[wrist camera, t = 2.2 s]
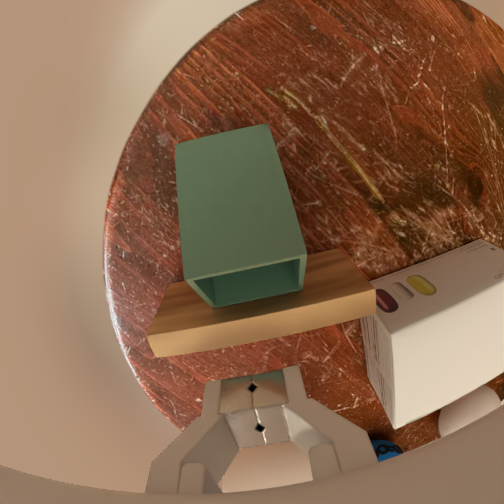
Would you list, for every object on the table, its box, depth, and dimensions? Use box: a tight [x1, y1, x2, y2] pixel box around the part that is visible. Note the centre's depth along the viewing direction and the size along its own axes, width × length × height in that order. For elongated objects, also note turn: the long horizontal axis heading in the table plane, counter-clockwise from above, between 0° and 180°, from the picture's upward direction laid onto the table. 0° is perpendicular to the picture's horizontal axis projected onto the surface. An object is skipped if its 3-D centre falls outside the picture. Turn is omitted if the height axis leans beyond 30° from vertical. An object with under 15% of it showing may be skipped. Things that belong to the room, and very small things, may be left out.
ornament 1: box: [371, 440, 403, 462], centre depth 34 cm, size 9×9×10 cm
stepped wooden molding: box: [146, 248, 376, 358], centre depth 25 cm, size 6×16×9 cm, turn 102°
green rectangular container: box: [175, 123, 307, 309], centre depth 21 cm, size 12×7×12 cm, turn 12°
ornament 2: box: [438, 385, 501, 437], centre depth 31 cm, size 10×10×12 cm
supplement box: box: [360, 238, 504, 429], centre depth 27 cm, size 17×13×9 cm
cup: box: [222, 441, 313, 493], centre depth 28 cm, size 11×11×15 cm
